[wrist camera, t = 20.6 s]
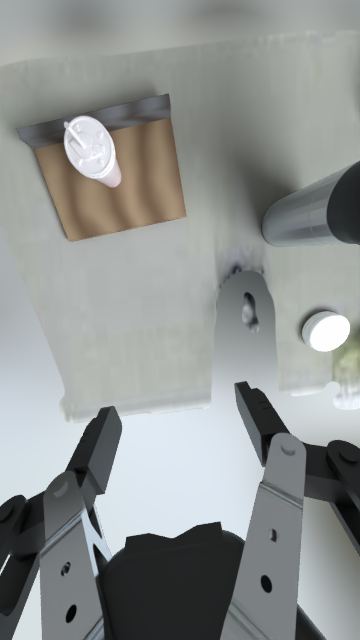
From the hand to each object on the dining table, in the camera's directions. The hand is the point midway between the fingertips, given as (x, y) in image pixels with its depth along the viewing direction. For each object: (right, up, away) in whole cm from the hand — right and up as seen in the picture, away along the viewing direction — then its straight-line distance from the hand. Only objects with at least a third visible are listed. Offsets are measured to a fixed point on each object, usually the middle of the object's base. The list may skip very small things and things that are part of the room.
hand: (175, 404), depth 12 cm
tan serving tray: (-12, +32, +23) cm, 41 cm away
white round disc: (+37, +3, +36) cm, 52 cm away
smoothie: (-12, +32, +21) cm, 40 cm away
